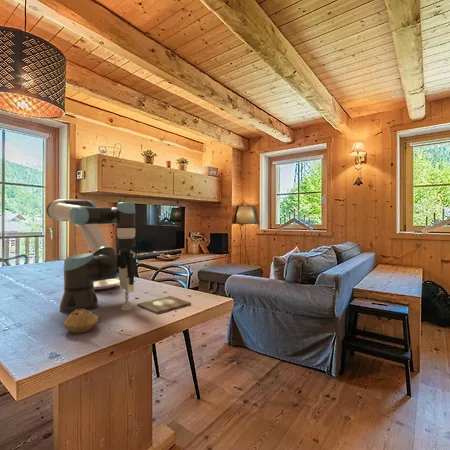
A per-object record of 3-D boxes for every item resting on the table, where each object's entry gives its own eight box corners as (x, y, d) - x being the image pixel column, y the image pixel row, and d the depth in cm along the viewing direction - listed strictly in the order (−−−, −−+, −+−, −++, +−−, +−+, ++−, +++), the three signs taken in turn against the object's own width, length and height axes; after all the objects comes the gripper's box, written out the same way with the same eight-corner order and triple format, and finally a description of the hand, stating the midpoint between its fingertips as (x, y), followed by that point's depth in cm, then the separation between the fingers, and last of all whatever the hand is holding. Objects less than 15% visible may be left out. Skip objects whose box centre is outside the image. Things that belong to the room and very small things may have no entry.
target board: (157, 314, 119) (157, 311, 119) (137, 305, 130) (137, 303, 130) (190, 304, 132) (190, 302, 132) (170, 297, 143) (170, 295, 143)
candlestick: (68, 289, 161) (67, 239, 160) (112, 282, 178) (111, 237, 177) (80, 296, 146) (79, 241, 145) (127, 288, 163) (126, 238, 162)
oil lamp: (89, 320, 112) (89, 299, 112) (103, 331, 101) (102, 308, 101) (57, 327, 105) (57, 305, 105) (68, 340, 94) (68, 315, 94)
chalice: (117, 311, 122) (116, 269, 122) (118, 306, 129) (118, 266, 128) (135, 310, 124) (135, 268, 124) (135, 305, 131) (135, 265, 130)
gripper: (145, 238, 122) (145, 292, 122) (124, 236, 135) (124, 285, 136) (129, 239, 116) (129, 296, 117) (108, 237, 130) (108, 288, 130)
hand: (126, 290), depth 126 cm, fingers closed on chalice, 6 cm apart
